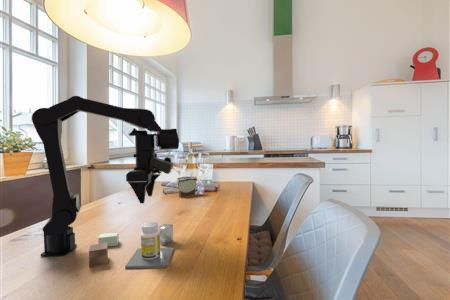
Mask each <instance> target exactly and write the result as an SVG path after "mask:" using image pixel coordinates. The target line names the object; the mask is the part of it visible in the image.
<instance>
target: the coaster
mask: <svg viewBox="0 0 450 300" xmlns="http://www.w3.org/2000/svg"><path fill="white" fill-rule="evenodd" d="M174 250H175V247H174V246H173V247H160V256H159V257H158V258H156V259H153V260H145V259H143V258H142V255H141V247H140V248H137V249H136V250H135V252H134V253H133V255H132V256H131V257H130V258H129V260H128V262H127V263H126V264H125V266H124V268H125V269H128V270H129V269H131V270H132V269H155V268H158V269H161V268H165V269H166V268H168V266H169V264H170V261H171V258H172V256H173V253H174Z"/></svg>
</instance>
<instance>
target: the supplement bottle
mask: <svg viewBox="0 0 450 300" xmlns="http://www.w3.org/2000/svg"><path fill="white" fill-rule="evenodd" d="M140 248H141V255H142V258H143V259H145V260H153V259H156V258H158V257H159V256H160V248H161V245H160V232H159V223H157V222H156V221H149V222H145V223H143V224H141V232H140Z"/></svg>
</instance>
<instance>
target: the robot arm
mask: <svg viewBox="0 0 450 300" xmlns="http://www.w3.org/2000/svg"><path fill="white" fill-rule="evenodd" d="M80 112H82V113H86V114H91V115H95V116H99V117H104V118H109V119H113V120H118V121H121V122H124V123H126V124H129V125H131V126H133V127H134V128H132V130H131V131H130V132H129V133H128V136H129V137H134V141H135V142H134V144H135V146H134V148H135V153H133V158H135V166H134V167H133V170H130V171H128V172H127V173H126V174H125V181H126V182H127V183H128V185H130V188H131V189H132V191H133V193H134V195H135V196H136V198H137V200H138V202H139V203H140V204H144V203H145V200H146V199H145V198H146V194H147V196H148V197H152V196H153V193H154V188H155V184H156V181H157V179H158V178H159V177H160V176H161V174H162V172H163V174H167V175H169V174H170V173H171V172H172V170H173V168H174V162H172V158H171V157H164V158H159V157H158V154H157V152H155V151H156V150H155V146H156V147H157V148H158V149H159V150H160V151H161V150H162V151H163V150H168V151H169V150H178V149H179V146H180V138H179V134H178V132H177V131H178V129H177V128H171V129H170V128H169V129H167V128H164V129H163V128H162V127H161V126H160V125H159V124H158V123H157V121H156V117H155V114H154V112H153V111H151V110H149V109H146V108H145V109H144V108H136V107H135V108H134V107H133V108H130V107H129V108H128V107H122V106H117V105H114V104H109V103H104V102H100V101H97V100H93V99H88V98H84V97H82V96H79V95H73V96H71V97H69V98H67V99H66V100H63V101H61V102H58V103H56V104H53V105H52V106H49V107H41V108H37V109H35V111H34V112H32V114H31V122H32V124H33V126H34V127H33V128H34V129H35V130H36V133H37V135H38V137H39V139H40V141H41V142H42V144H43V148H44V149H43V150H44V153H45V159H46V164H47V169H48V174H49V179H50V183H51V188H52V203H51V217H50V218H49V219H48V220H47V222H46V223H45V225H44V226H43V227H42V232H43V247H44V249H43V250H44V251H43V252H42V253H40V257H51V256H52V257H56V256H59V257H60V256H62V257H63V256H66V255H68V253H70V252H71V251H72V250H74V249H75V248H76V247H77V246H78V244H77V243H76V234H75V232H74V227H73V226H71V225H72V224H73V223H74V222H75V221H76V219H77V217H78V215H79V213H80V210H81V208H82V205H81V203H80V196H79V195H80V194H79V193H76V194H74V193H73V192H72V190H71V187H70V183H69V182H70V181H69V177H68V170H67V166H66V162H65V161H66V160H65V156H64V152H63V151H64V150H63V147H62V133H63V122H65V121H66V120H68V119H69V118H71V117H73V116H74V115H76V114H78V113H80ZM135 127H136V128H138V129H140V130H137V129H136V128H135ZM141 129H142V130H141ZM148 131H149V132H151V133H148Z"/></svg>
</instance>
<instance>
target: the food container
mask: <svg viewBox="0 0 450 300" xmlns="http://www.w3.org/2000/svg"><path fill="white" fill-rule="evenodd" d="M197 181H198V178H197V176H180V177H178V178H176V182H175V183H176V184H177V191H178V197H179V199H181V198H187V197H192V196H193V197H194V196H196V192H197V190H196V189H197Z"/></svg>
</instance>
